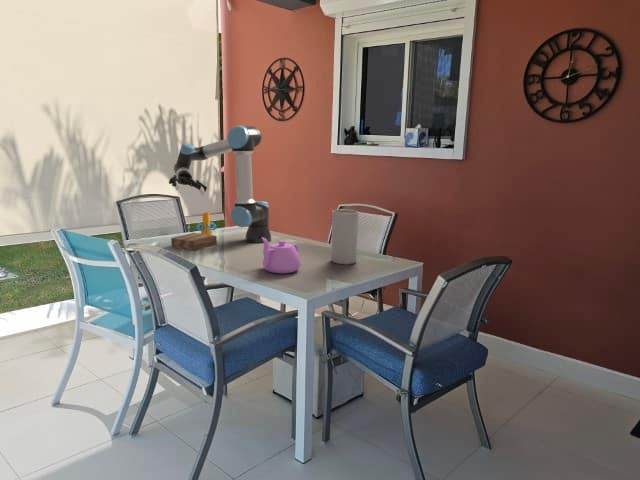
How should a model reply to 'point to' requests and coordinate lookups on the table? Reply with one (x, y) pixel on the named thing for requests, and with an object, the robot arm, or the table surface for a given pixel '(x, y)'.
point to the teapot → (280, 257)
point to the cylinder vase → (344, 236)
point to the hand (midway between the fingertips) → (190, 190)
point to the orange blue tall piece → (206, 224)
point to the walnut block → (194, 241)
